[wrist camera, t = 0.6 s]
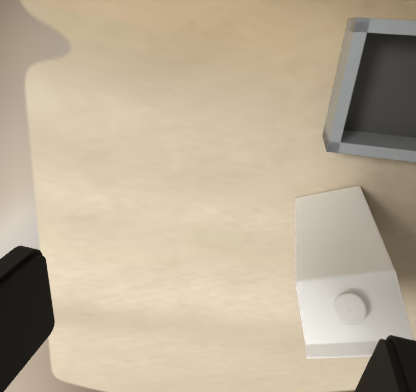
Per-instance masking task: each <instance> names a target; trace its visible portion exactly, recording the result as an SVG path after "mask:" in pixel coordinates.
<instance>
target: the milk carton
mask: <svg viewBox="0 0 416 392" xmlns="http://www.w3.org/2000/svg"><path fill="white" fill-rule="evenodd" d="M295 285H296V291H297V297H298V303H299V308H300V314H301V320H302V326H303V332H304V338H305V344H306V357H307V359H317V358H343V357H368V356H372V354H373V352H374V350H375V347H376V345H377V343H378V341H379V340H380V339H384V340H386V338H387V337H388V336H389V335H393V336H397V337H402V338H406V339H410V340H413V336H412V332H411V328H410V324H409V320H408V316H407V312H406V309H405V305H404V301H403V297H402V293H401V289H400V285H399V281H398V278H397V274H396V271H395V269H394V266H393V264H392V261H391V259H390V257H389V254H388V252H387V249H386V247H385V245H384V242H383V240H382V237H381V235H380V233H379V230H378V228H377V225H376V223H375V220H374V218H373V216H372V213H371V211H370V208H369V206H368V204H367V201H366V199H365V196H364V194H363V192H362V189H361V187H360V186H354V187H349V188H344V189H339V190H334V191H328V192H323V193H318V194H313V195H308V196H303V197H298V198H295Z"/></svg>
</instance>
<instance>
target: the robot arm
mask: <svg viewBox="0 0 416 392" xmlns="http://www.w3.org/2000/svg"><path fill="white" fill-rule="evenodd" d="M53 327H54V314H53V307H52V300H51V293H50V285H49V278H48V271H47V264H46V259H45V257H44V256H42V253H41V251H40V250H37V249H32V248H29V247H24V246H18V247H16V248H14V249H13V250H11V251H10V252H9V253H8V254H6V255H5V256H4V257H3V258H1V259H0V392H4V390H5V389H6V388H7V387H8V386H9V384H10V383H11V382H12V381H13V379H14V378H15V377H16V376H17V375H18V373H19V372H20V371H21V370H22V368H23V367H24V366H25V365H26V363H27V362H28V361H29V360H30V358H31V357H32V356H33V355H34V354H35V352H36V351H37V350H38V349H39V347H40V346H41V345H42V344H43V342H44V341H45V340H46V339H47V338H48V336H49V335H50V334H51V332H52V330H53ZM355 392H416V341H414V340H410V339H406V338H402V337H397V336H393V335H389V336H388V337H387V338H386V340H384V339H380V340H379V341H378V343H377V345H376V347H375V350H374V352H373V354H372V356H371V358H370V360H369V362H368V364H367V366H366V369H365V371H364V373H363V375H362V377H361V379H360V381H359V383H358V385H357V388H356V390H355Z"/></svg>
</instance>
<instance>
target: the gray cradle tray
mask: <svg viewBox="0 0 416 392" xmlns="http://www.w3.org/2000/svg"><path fill="white" fill-rule="evenodd" d="M323 140H324V143H325V147H326V151H327V152H335V153H343V154H351V155H359V156H367V157H376V158H384V159H392V160H400V161H408V162H416V21H411V20H393V19H375V18H358V17H357V18H349V19H348V21H347V26H346V30H345V35H344V39H343V44H342V49H341V53H340V58H339V63H338V67H337V72H336V76H335V81H334V86H333V90H332V95H331V100H330V104H329V109H328V114H327V118H326V123H325V127H324V132H323Z"/></svg>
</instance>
